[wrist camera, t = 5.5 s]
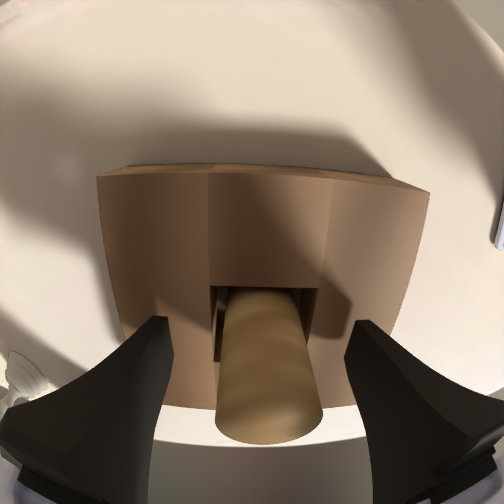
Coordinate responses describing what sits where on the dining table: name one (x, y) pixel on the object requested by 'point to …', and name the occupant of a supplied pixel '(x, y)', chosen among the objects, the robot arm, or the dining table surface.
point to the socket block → (257, 257)
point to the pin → (265, 369)
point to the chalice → (21, 381)
